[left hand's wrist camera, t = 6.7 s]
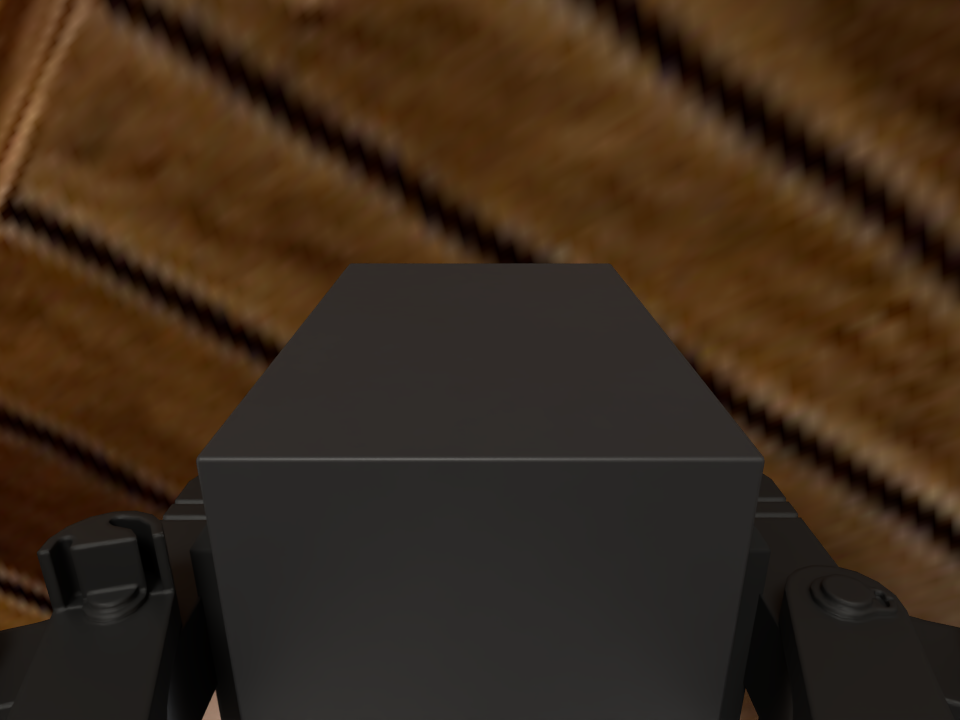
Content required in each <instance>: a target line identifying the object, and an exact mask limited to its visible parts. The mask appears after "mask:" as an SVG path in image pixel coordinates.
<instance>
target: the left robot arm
mask: <svg viewBox="0 0 960 720" xmlns="http://www.w3.org/2000/svg"><path fill="white" fill-rule="evenodd" d="M37 555H38V559H39V562H40V566H41V569H42V573H43V576H44V580H45V583H46V587H47V590H48V594H49V597H50V601H51V604H52V608H53V614H52V616H51V618H50V619H49V620H45V621H42V622H38V623H34V624H29V625H25V626H20V627H16V628H11V629H6V630H2V631H0V720H202V719H203V716H204V714H205V712H206V710H207V707H208V705H209V703H210V701H211V698H212V696H213V694H214V692H215V690H216V696H217V701H218V706H219V712H220V717H221V720H241V718H240V712H239V706H238V700H237V695H236V689H235V683H234V677H233V671H232V666H231V660H230V654H229V648H228V642H227V637H226V631H225V625H224V619H223V613H222V607H221V602H220V596H219V590H218V584H217V578H216V573H215V567H214V561H213V555H212V549H211V544H210V538H209V532H208V526H207V520H206V515H205V509H204V503H203V497H202V491H201V485H200V480H199V476H197V477H195V478H194V479H192V480H191V481H189V483H188V484H187V485H186V487H185V488H184V489H183V491H182V492H181V493H180V495H179V496H178V497H177V498H176V500H175V504H172V505H171V506H170V508H169V509H168V510H167V512H166V513H165V514H164V516H163V520H158V519H157V518H156V517H155V516H153V515H152V514H148V513H143V512H139V511H119V512H111V513H106V514H102V515H97V516H93V517H89V518H87V519H85V520H82V521H80V522H77V523H75V524H73V525H70V526H68V527H66V528H65V529H63V530H62V531H60V532H59V533H57V534H56V535H54V536H52V537H51V538H49V539H48V540H47V542H46V543H45V544H44V545H43V546H42V547H41V549H40V550H39V551H38V552H37ZM745 688H746V690H747V692H748V694H749V696H750V698H751V701H752V703H753V705H754V707H755V710H756V712H757V714H758V716H759V719H758V720H960V628H958V627H954V626H949V625H945V624H940V623H935V622H931V621H926V620H922V619H919V618H915V617H911V616H909V615H908V612H907V610H906V609H905V608H904V606H903V605H902V603H901V602H900V601H899V599H898V598H897V597H896V595H894V594H893V593H892V592H890V591H889V590H888V589H887V588H885V587H884V586H883V585H881V584H880V583H879V582H877V581H875V580H873V579H871V578H869V577H866V576H864V575H862V574H860V573H858V572H856V571H852V570H848V569H844V568H840V567H838V566H837V564H836V563H835V562H834V560H833V559H832V558H831V556H830V555H829V554H828V553H827V551H826V550H825V549H824V547H823V546H822V545H821V543H820V542H819V541H818V539H817V538H816V537H815V536H814V534H813V533H812V532H811V530H810V529H809V528H808V526H807V525H806V524H805V522H804V521H803V520H802V519H801V518H798V513H797V512H796V511H795V509H794V508H793V507H792V505H791V504H790V503H789V502H786V498H785V496H784V495H783V494H782V492H781V491H780V490H779V489H778V487H777V486H776V485H775V483H774V482H773V481H772V479H770V478H769V477H767V476H766V475H764V474H763V473H762V479H761V485H760V490H759V496H758V502H757V508H756V514H755V519H754V525H753V531H752V537H751V542H750V548H749V554H748V560H747V566H746V571H745V577H744V583H743V589H742V595H741V600H740V606H739V612H738V618H737V623H736V629H735V635H734V641H733V647H732V652H731V658H730V664H729V670H728V676H727V681H726V687H725V693H724V699H723V704H722V710H721V716H720V720H740V714H741V709H742V704H743V698H744V693H745Z"/></svg>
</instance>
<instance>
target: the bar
mask: <svg viewBox="0 0 960 720" xmlns="http://www.w3.org/2000/svg"><path fill="white" fill-rule="evenodd" d="M196 462H197V468H198V474H199V480H200V485H201V491H202V497H203V503H204V509H205V515H206V520H207V526H208V532H209V538H210V544H211V549H212V555H213V561H214V567H215V573H216V578H217V584H218V590H219V596H220V602H221V607H222V613H223V619H224V625H225V631H226V637H227V642H228V648H229V654H230V660H231V666H232V671H233V677H234V683H235V689H236V695H237V700H238V706H239V712H240V718H241V720H720V716H721V710H722V704H723V699H724V693H725V687H726V681H727V676H728V670H729V664H730V658H731V652H732V647H733V641H734V635H735V629H736V623H737V618H738V612H739V606H740V600H741V595H742V589H743V583H744V577H745V571H746V566H747V560H748V554H749V548H750V542H751V537H752V531H753V525H754V519H755V514H756V508H757V502H758V496H759V490H760V485H761V479H762V473H763V467H764V457H763V456H762V455H761V453H760V452H759V451H758V450H757V448H756V447H755V446H754V444H753V443H752V442H751V441H750V439H749V438H748V437H747V436H746V434H745V433H744V432H743V431H742V429H741V428H740V427H739V426H738V424H737V423H736V422H735V420H734V419H733V418H732V417H731V415H730V414H729V413H728V412H727V410H726V409H725V408H724V407H723V405H722V404H721V403H720V402H719V400H718V399H717V398H716V397H715V395H714V394H713V393H712V391H711V390H710V389H709V388H708V386H707V385H706V384H705V383H704V381H703V380H702V379H701V378H700V376H699V375H698V374H697V373H696V371H695V370H694V369H693V367H692V366H691V365H690V364H689V362H688V361H687V360H686V359H685V357H684V356H683V355H682V354H681V352H680V351H679V350H678V349H677V347H676V346H675V345H674V343H673V342H672V341H671V340H670V338H669V337H668V336H667V335H666V333H665V332H664V331H663V330H662V328H661V327H660V326H659V325H658V323H657V322H656V321H655V320H654V318H653V317H652V316H651V314H650V313H649V312H648V311H647V309H646V308H645V307H644V306H643V304H642V303H641V302H640V301H639V299H638V298H637V297H636V296H635V294H634V293H633V292H632V290H631V289H630V288H629V287H628V285H627V284H626V283H625V282H624V280H623V279H622V278H621V277H620V275H619V274H618V273H617V272H616V270H615V269H614V268H613V266H612V265H611V264H349V266H348V267H347V268H346V269H345V271H344V272H343V273H342V275H341V276H340V277H339V278H338V280H337V281H336V282H335V283H334V285H333V286H332V287H331V288H330V290H329V291H328V292H327V294H326V295H325V296H324V297H323V299H322V300H321V301H320V302H319V304H318V305H317V306H316V307H315V309H314V310H313V311H312V313H311V314H310V315H309V316H308V318H307V319H306V320H305V321H304V323H303V324H302V325H301V326H300V328H299V329H298V330H297V332H296V333H295V334H294V335H293V337H292V338H291V339H290V340H289V342H288V343H287V344H286V345H285V347H284V348H283V349H282V351H281V352H280V353H279V354H278V356H277V357H276V358H275V359H274V361H273V362H272V363H271V364H270V366H269V367H268V368H267V370H266V371H265V372H264V373H263V375H262V376H261V377H260V378H259V380H258V381H257V382H256V383H255V385H254V386H253V387H252V389H251V390H250V391H249V392H248V394H247V395H246V396H245V397H244V399H243V400H242V401H241V402H240V404H239V405H238V406H237V408H236V409H235V410H234V411H233V413H232V414H231V415H230V416H229V418H228V419H227V420H226V421H225V423H224V424H223V425H222V426H221V428H220V429H219V430H218V432H217V433H216V434H215V435H214V437H213V438H212V439H211V440H210V442H209V443H208V444H207V445H206V447H205V448H204V449H203V451H202V452H201V453H200V454H199V456H198V457H197V460H196Z"/></svg>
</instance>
